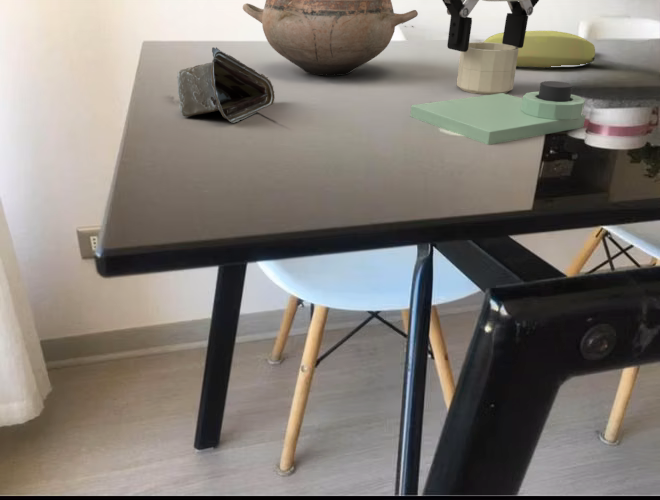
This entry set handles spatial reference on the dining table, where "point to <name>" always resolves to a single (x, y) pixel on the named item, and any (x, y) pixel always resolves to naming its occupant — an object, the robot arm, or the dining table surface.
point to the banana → (551, 49)
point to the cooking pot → (328, 31)
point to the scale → (502, 116)
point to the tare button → (555, 91)
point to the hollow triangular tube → (223, 88)
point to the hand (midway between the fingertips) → (485, 48)
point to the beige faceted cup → (487, 68)
